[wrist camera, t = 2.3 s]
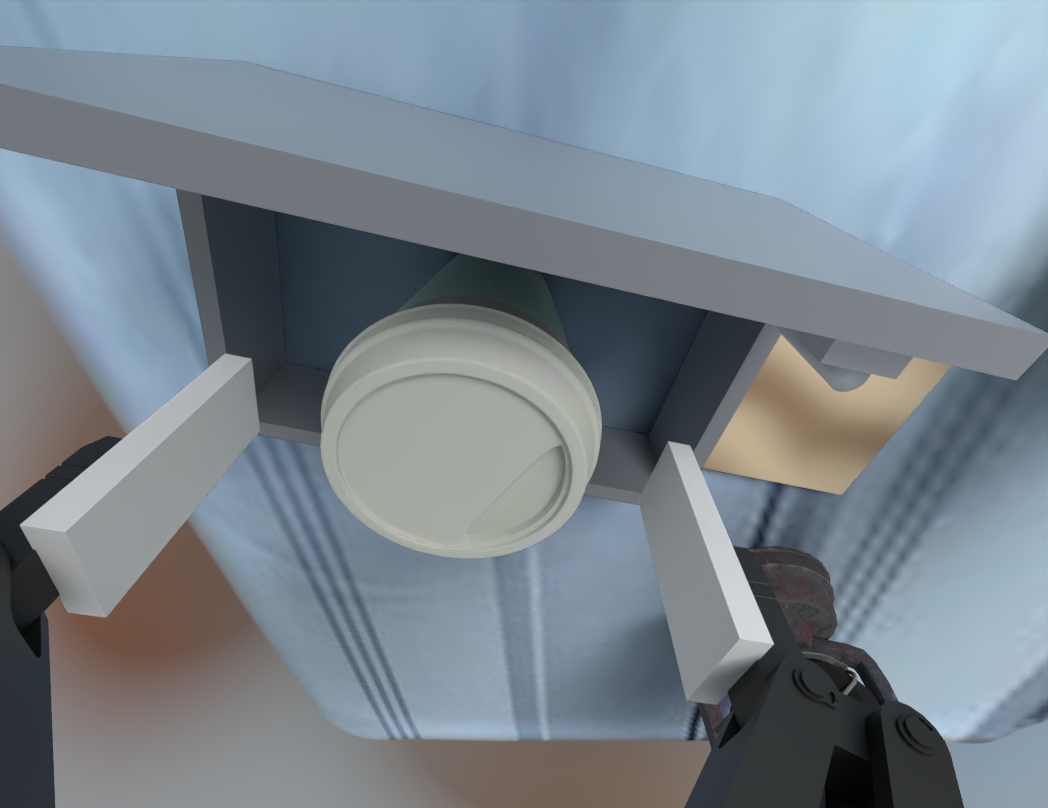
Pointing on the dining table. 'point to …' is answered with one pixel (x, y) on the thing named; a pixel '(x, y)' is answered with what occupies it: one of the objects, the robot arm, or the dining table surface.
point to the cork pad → (816, 422)
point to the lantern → (813, 629)
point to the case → (488, 232)
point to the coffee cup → (463, 416)
